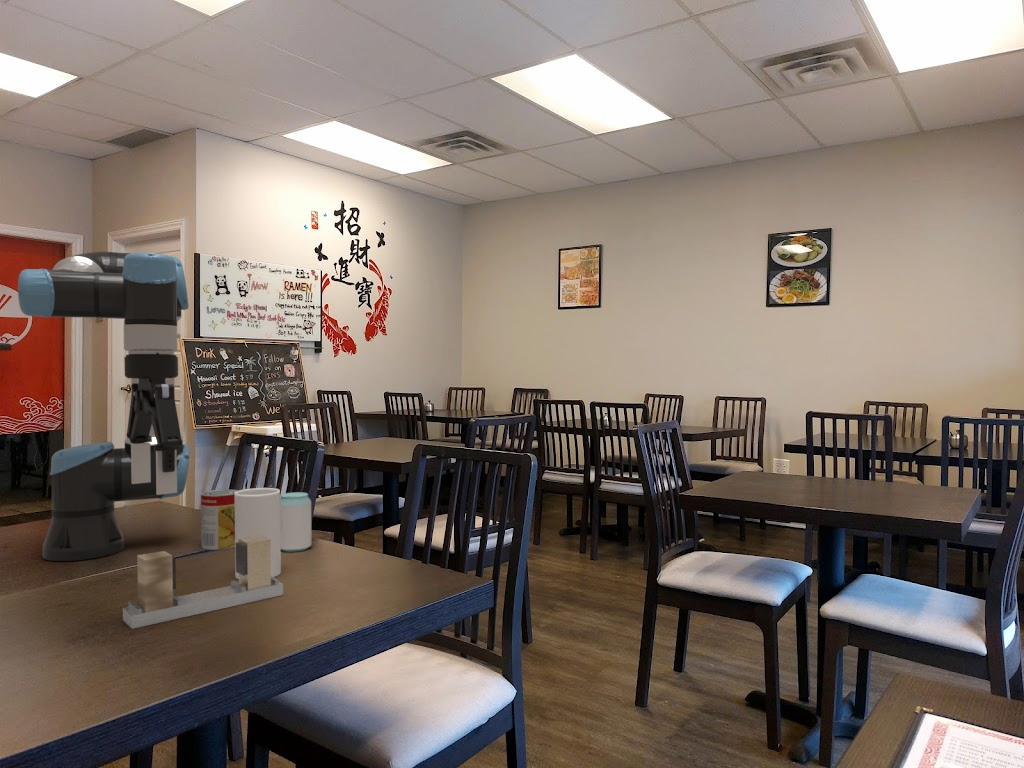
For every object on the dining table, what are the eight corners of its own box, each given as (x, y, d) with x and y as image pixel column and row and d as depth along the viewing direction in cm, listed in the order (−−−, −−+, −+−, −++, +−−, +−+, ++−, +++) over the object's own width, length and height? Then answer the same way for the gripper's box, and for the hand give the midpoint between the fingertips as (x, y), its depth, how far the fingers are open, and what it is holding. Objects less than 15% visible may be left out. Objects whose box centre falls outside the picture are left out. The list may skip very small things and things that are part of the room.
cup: (266, 581, 132) (265, 495, 132) (226, 579, 134) (225, 494, 134) (288, 569, 140) (287, 488, 140) (250, 567, 142) (250, 487, 142)
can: (306, 552, 153) (305, 497, 153) (273, 552, 153) (272, 497, 153) (315, 544, 160) (314, 491, 160) (284, 544, 160) (283, 491, 160)
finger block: (145, 611, 110) (144, 560, 110) (138, 605, 113) (137, 555, 113) (177, 605, 113) (176, 554, 113) (168, 599, 116) (168, 550, 116)
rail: (123, 620, 112) (122, 556, 112) (271, 588, 128) (270, 533, 128) (131, 628, 108) (130, 563, 108) (283, 594, 124) (282, 537, 124)
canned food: (246, 542, 163) (246, 490, 163) (225, 550, 155) (224, 495, 155) (216, 540, 165) (215, 488, 164) (193, 549, 157) (193, 494, 157)
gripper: (203, 351, 105) (205, 495, 106) (153, 354, 124) (155, 476, 124) (148, 351, 100) (150, 501, 101) (105, 354, 119) (107, 481, 119)
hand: (153, 488), depth 112 cm, fingers open, 13 cm apart
